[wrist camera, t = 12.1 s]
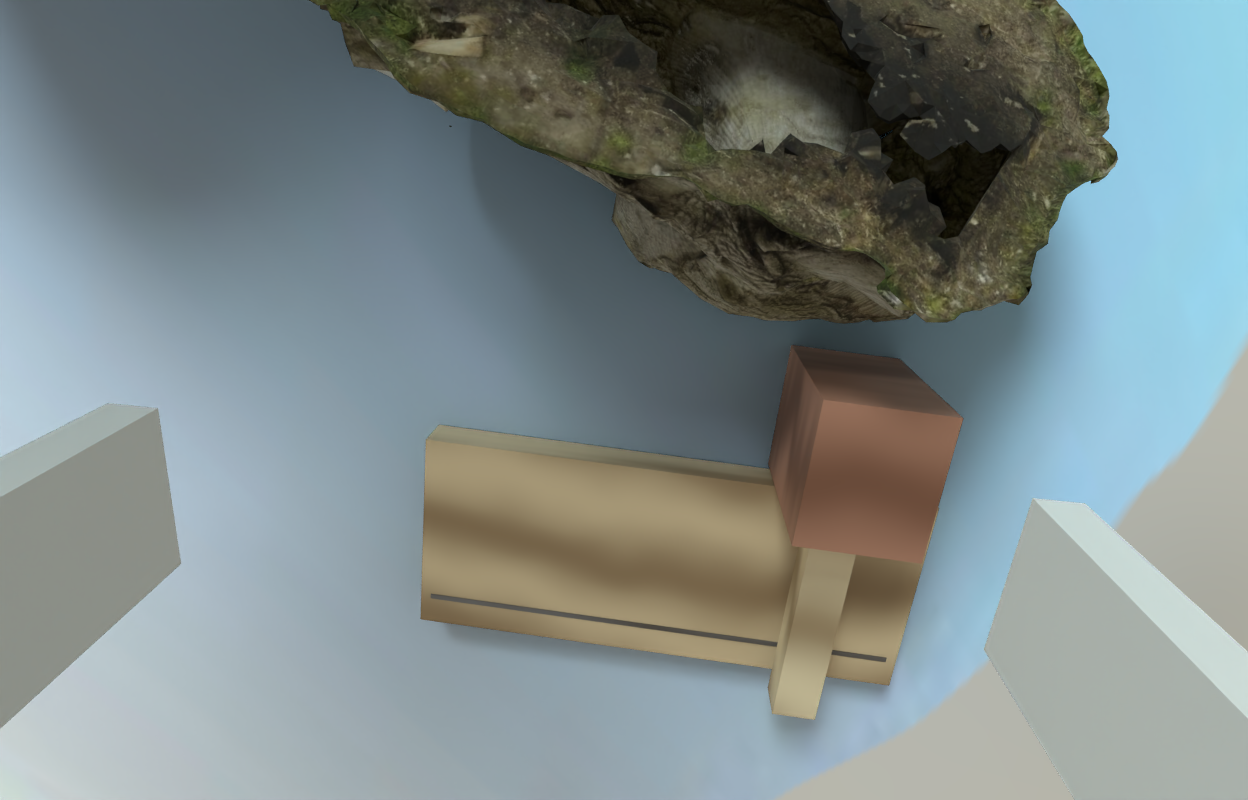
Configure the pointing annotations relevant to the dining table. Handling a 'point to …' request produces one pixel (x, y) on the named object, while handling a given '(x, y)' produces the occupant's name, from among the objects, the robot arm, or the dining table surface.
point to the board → (632, 553)
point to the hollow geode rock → (783, 133)
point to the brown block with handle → (848, 493)
